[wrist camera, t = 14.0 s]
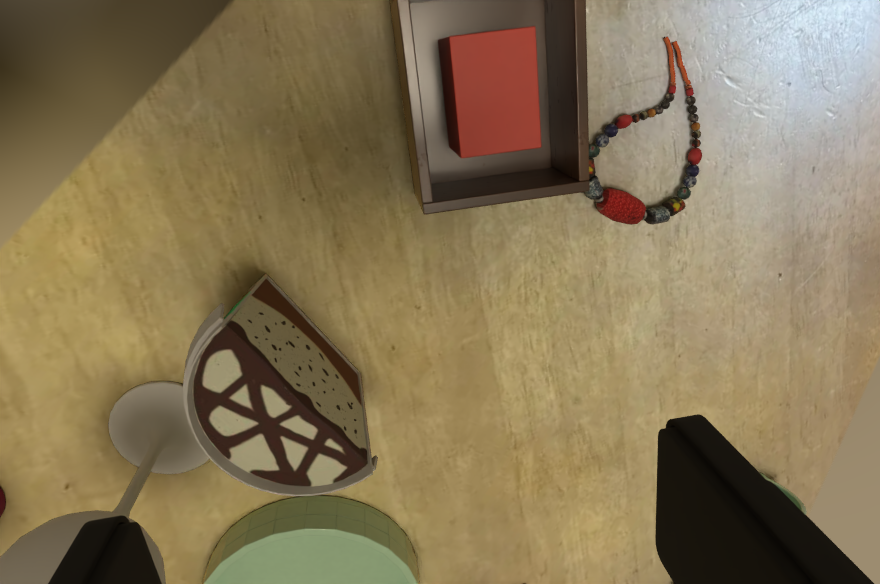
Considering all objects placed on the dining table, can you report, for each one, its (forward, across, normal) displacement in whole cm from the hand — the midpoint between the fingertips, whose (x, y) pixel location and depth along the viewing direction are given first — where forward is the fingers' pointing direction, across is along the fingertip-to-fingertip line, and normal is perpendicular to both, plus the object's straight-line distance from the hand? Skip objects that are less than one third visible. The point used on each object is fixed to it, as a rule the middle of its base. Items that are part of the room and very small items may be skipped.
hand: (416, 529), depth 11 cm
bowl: (+28, +9, +29) cm, 42 cm away
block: (+28, -7, -6) cm, 29 cm away
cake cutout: (+28, +8, +9) cm, 31 cm away
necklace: (+28, -18, -2) cm, 34 cm away
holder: (+28, -7, -6) cm, 30 cm away
